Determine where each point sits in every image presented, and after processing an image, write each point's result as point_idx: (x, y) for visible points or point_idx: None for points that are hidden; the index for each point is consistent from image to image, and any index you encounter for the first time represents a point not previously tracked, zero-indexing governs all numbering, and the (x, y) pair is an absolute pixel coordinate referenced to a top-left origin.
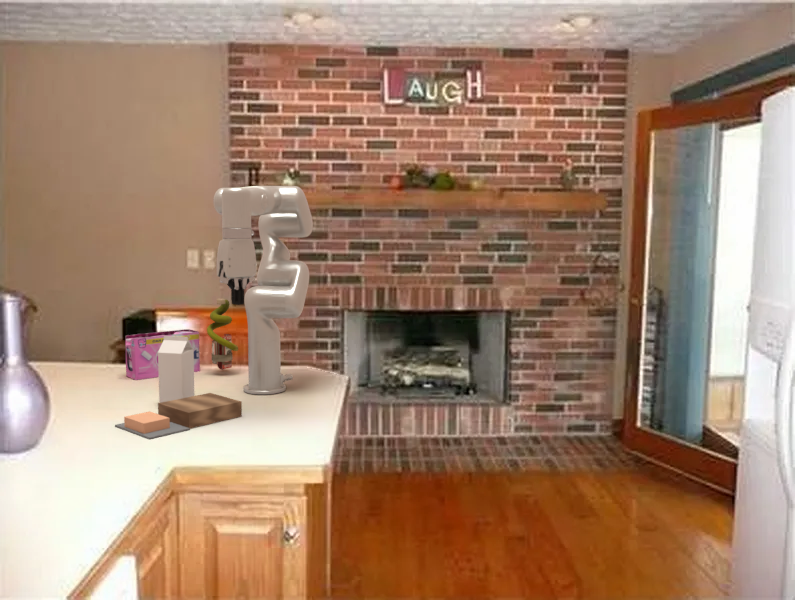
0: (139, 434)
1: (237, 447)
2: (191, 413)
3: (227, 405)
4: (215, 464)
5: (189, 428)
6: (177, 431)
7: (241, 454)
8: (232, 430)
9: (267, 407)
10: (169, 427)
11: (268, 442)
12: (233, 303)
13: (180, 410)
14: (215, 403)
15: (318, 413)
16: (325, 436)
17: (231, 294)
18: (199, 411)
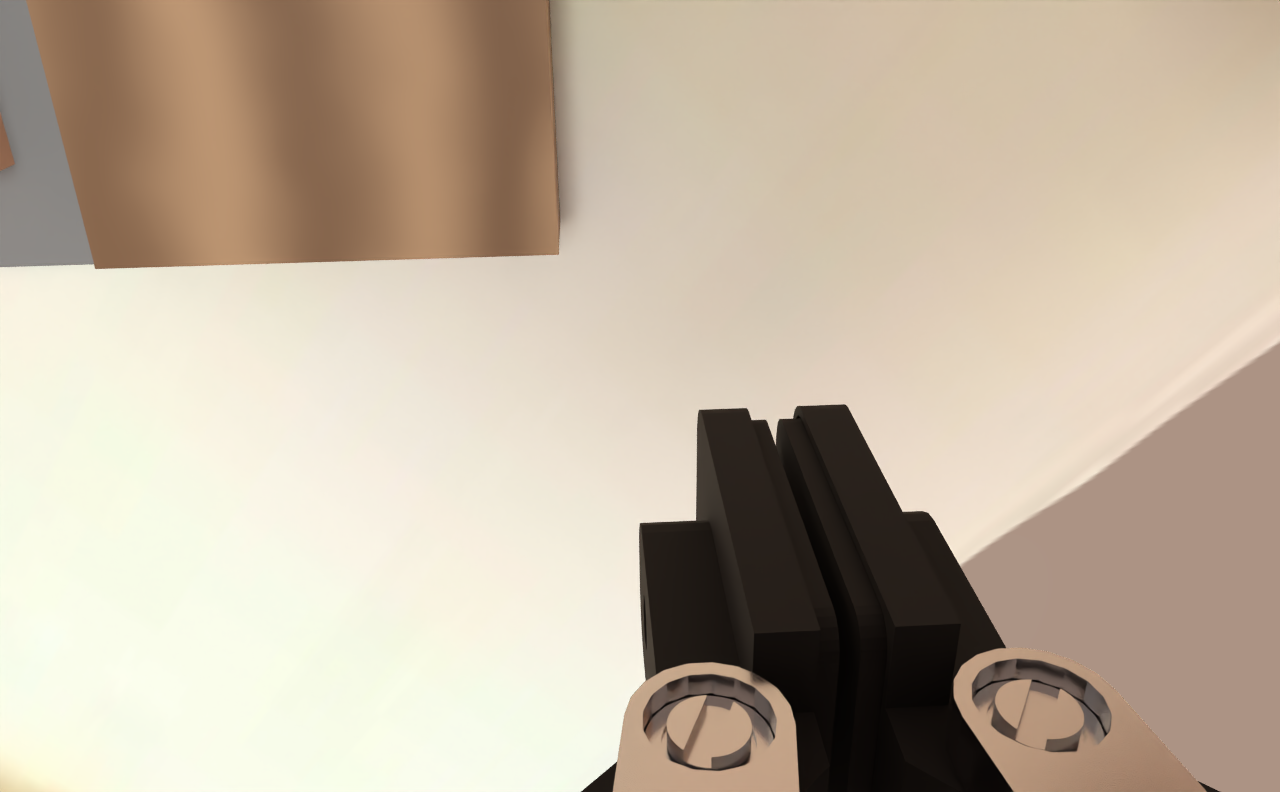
0: None
1: (216, 666)
2: (121, 264)
3: (431, 256)
4: (25, 776)
5: None
6: (36, 264)
7: (183, 745)
8: (342, 433)
9: (835, 151)
10: (11, 164)
11: (378, 693)
12: (700, 461)
13: (68, 162)
14: (376, 172)
15: (930, 480)
16: None
17: (650, 615)
18: (187, 263)
